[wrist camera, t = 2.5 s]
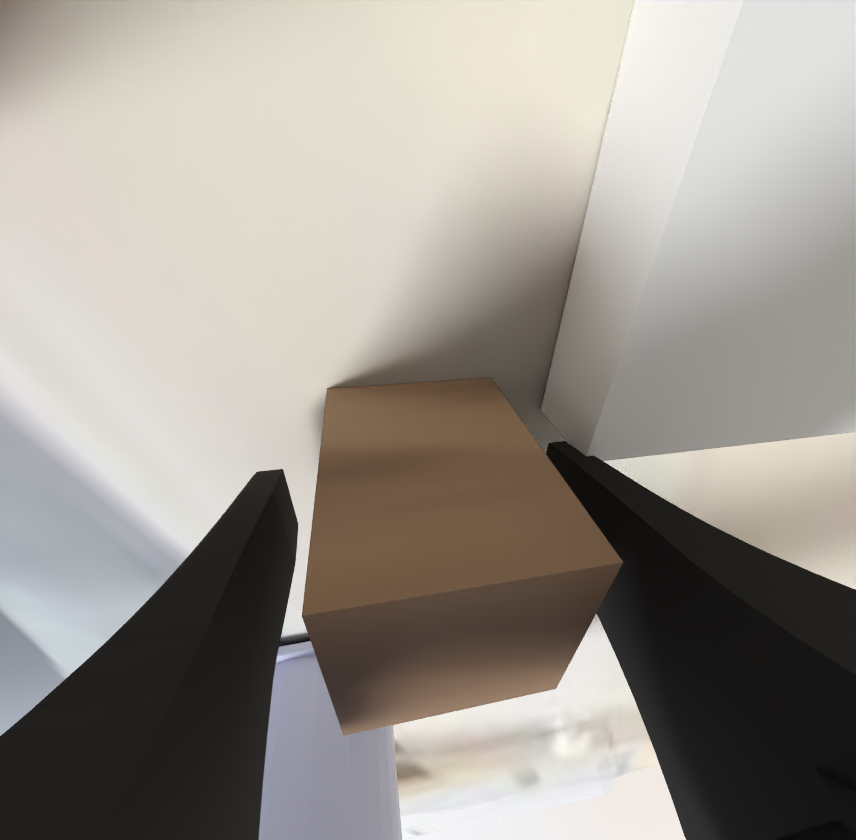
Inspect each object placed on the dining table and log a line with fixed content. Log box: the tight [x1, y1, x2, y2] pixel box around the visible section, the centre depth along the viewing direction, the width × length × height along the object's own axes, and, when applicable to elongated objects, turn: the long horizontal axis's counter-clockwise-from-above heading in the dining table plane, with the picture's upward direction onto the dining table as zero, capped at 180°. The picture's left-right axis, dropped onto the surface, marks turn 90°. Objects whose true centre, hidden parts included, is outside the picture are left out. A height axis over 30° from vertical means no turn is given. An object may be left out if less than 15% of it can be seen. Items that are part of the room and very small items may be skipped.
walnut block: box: [302, 377, 623, 736], centre depth 9 cm, size 4×4×6 cm
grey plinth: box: [541, 0, 856, 461], centre depth 8 cm, size 10×10×2 cm
